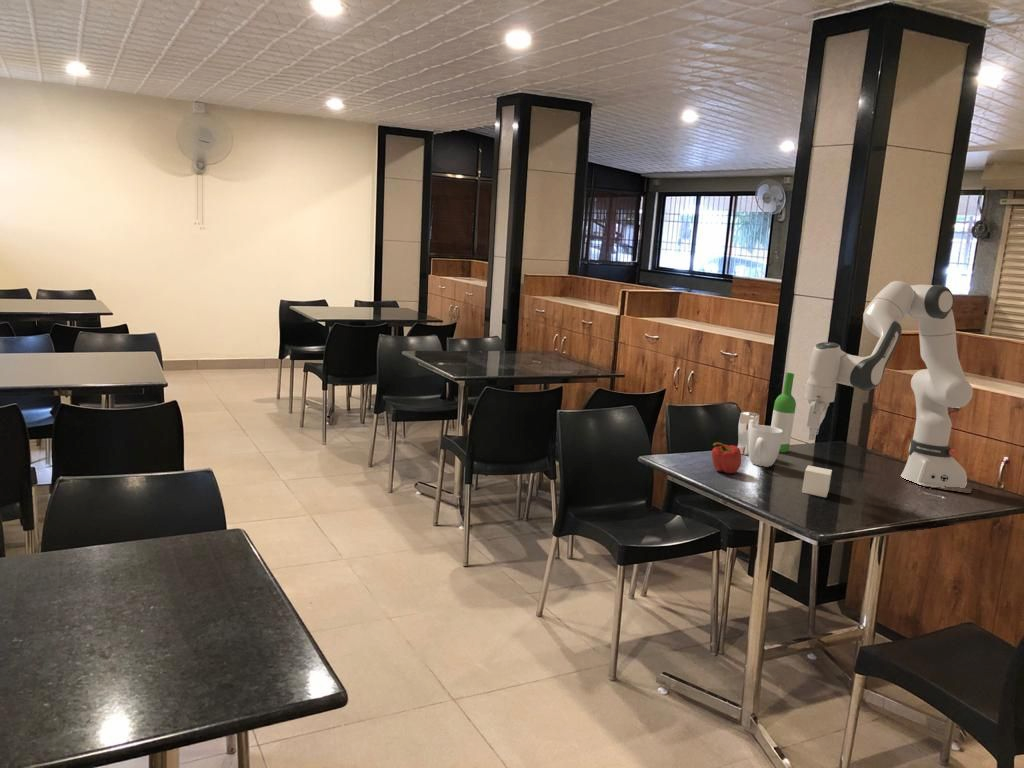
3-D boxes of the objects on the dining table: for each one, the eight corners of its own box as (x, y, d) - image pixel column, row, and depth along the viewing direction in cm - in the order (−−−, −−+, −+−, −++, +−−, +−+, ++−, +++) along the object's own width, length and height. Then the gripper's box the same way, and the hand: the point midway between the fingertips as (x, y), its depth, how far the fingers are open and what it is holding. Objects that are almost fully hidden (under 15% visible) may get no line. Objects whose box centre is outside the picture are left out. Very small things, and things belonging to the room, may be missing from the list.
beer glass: (756, 456, 300) (762, 416, 297) (737, 454, 300) (743, 414, 297) (750, 451, 307) (756, 412, 304) (732, 449, 307) (738, 410, 304)
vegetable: (716, 476, 269) (720, 446, 267) (701, 466, 279) (705, 438, 277) (745, 476, 271) (750, 447, 270) (730, 467, 281) (734, 439, 280)
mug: (770, 473, 278) (775, 436, 276) (738, 466, 284) (743, 429, 282) (780, 464, 291) (786, 429, 289) (749, 458, 297) (755, 423, 294)
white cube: (828, 491, 263) (832, 470, 261) (826, 497, 256) (830, 475, 255) (804, 486, 266) (807, 465, 265) (801, 492, 259) (805, 470, 258)
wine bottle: (792, 453, 310) (805, 375, 304) (774, 453, 308) (787, 374, 302) (780, 447, 317) (792, 371, 312) (763, 447, 315) (775, 370, 309)
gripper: (827, 400, 246) (820, 445, 249) (833, 391, 264) (826, 432, 267) (805, 397, 249) (798, 441, 251) (812, 388, 267) (806, 429, 269)
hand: (813, 436), depth 259 cm, fingers open, 8 cm apart
